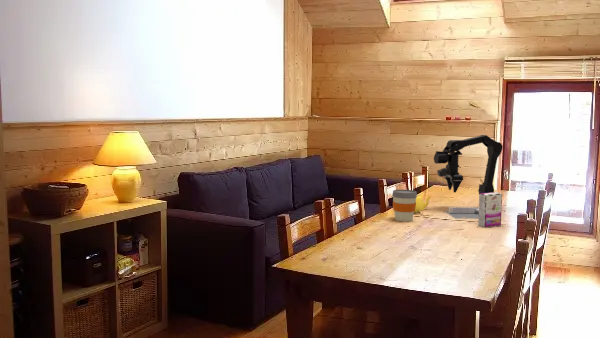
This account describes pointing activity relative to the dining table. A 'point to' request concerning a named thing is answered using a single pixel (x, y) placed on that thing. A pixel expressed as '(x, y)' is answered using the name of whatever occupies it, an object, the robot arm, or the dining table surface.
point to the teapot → (421, 204)
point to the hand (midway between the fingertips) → (452, 191)
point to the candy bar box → (490, 209)
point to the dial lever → (463, 210)
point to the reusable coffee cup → (404, 204)
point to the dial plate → (464, 215)
